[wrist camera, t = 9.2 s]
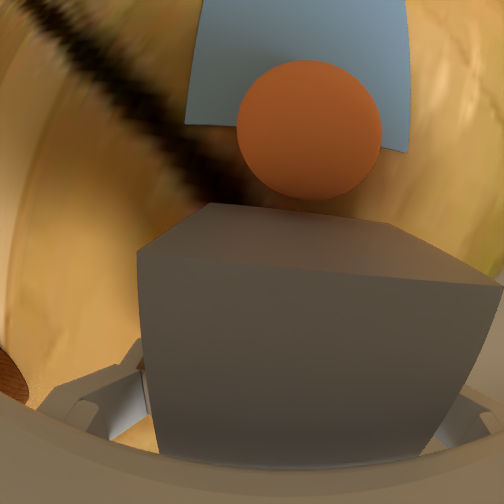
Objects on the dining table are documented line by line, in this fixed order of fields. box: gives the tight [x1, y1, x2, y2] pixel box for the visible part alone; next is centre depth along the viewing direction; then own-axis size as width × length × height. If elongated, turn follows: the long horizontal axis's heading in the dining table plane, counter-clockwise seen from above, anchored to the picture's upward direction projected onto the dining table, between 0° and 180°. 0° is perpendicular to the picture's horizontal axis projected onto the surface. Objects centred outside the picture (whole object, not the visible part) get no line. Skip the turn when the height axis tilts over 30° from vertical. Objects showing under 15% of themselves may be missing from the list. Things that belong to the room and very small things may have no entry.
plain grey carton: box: [137, 203, 504, 469], centre depth 9 cm, size 10×7×7 cm
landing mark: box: [185, 0, 410, 153], centre depth 10 cm, size 13×10×1 cm
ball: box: [237, 60, 382, 201], centre depth 9 cm, size 5×5×5 cm
